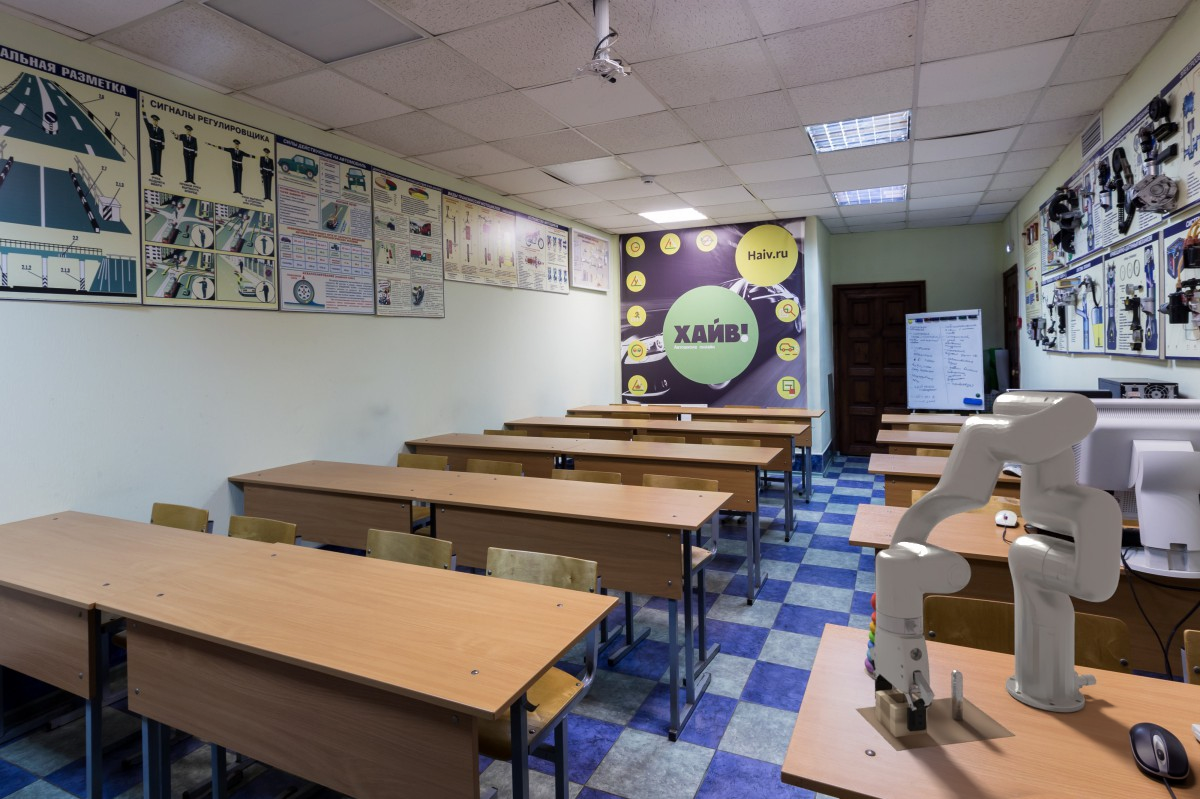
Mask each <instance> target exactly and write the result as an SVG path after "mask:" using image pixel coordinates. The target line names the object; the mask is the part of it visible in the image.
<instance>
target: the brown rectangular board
mask: <svg viewBox="0 0 1200 799" xmlns="http://www.w3.org/2000/svg"><path fill="white" fill-rule="evenodd" d="M855 710H856V712H858V714H860V715H861V716H862V717H863V718H864V720H865V721H867V722H868V723H869V724H870V725H871V726H872V728H874V730H875V731H877V733H878V734H879V735H880V736H882V738H883V739H884V740H885V741H886V742H887V743H888V744H889V745H890V746H891V747H892V748H893V749H894V750H895V751H896V752H898V751H906V750H907V751H908V750H915V749H921V748H922V749H923V748H930V747H937V746H945V745H954V744H961V743H968V742H977V741H985V740H992V739H1000V738H1008V737H1015V736H1016V735H1015V733H1013V732H1012V731H1010V730H1009V729H1007V728H1006V727H1005V726H1003V724H1001V723H999V722H998V721H997V720H996V719H994V718H992V716H990V715H989V714H987V713H986V712H985V711H983V710H982V709H980V708H979V707H977V706H976V705H975V704H974V703H973V702H971V701H970V700H968V699H967V698H966V697H964V696H963V721H956V720H954V719H952V703H951V697H944V698H937V699H933V700H932V702H931V706H929V708H928V709H927V733H924V734H915V735H907V736H899V737H895V736H894V735H893V734H892V733H891V732H890V731H889V730H888V729H887V728H886V727H885V726H884V725H883V724H882V723H881V722H880V721H879V720H878V719H876V705H875V706H869V707H867V706H866V707H860V708H859V707H858V708H855Z"/></svg>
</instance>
